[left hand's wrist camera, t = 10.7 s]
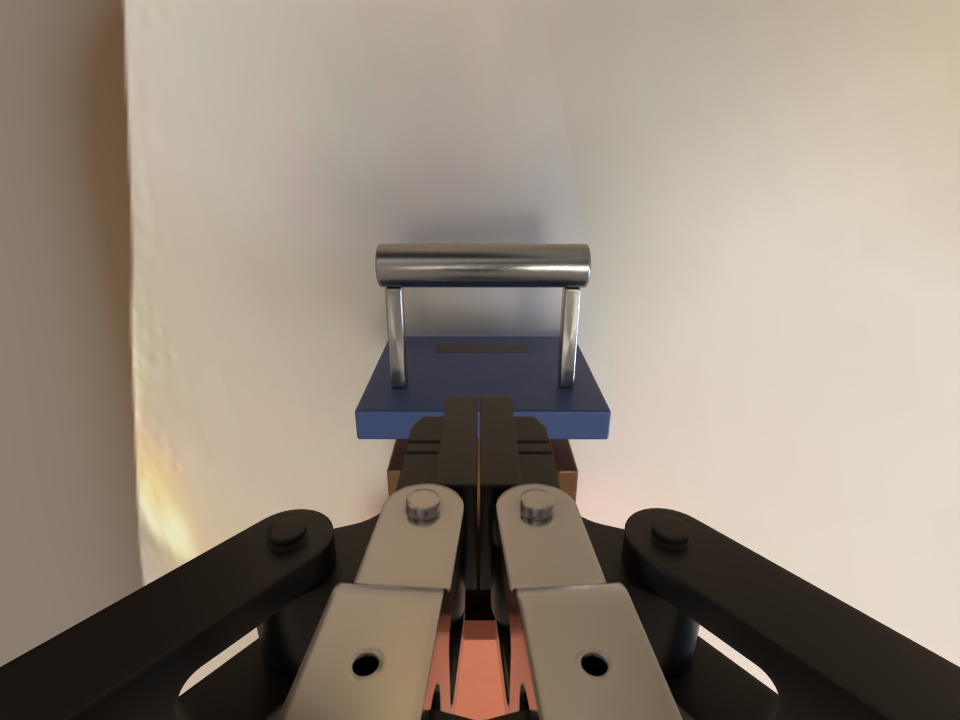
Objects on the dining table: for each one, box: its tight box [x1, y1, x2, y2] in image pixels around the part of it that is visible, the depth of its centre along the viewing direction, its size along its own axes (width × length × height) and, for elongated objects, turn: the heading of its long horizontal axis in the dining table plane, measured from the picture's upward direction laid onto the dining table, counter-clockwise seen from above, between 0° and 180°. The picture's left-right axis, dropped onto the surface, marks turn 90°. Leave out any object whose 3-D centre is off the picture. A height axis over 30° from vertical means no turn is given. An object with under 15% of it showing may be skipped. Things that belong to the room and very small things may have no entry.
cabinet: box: [455, 620, 505, 720], centre depth 30 cm, size 19×10×10 cm, turn 0°
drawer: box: [355, 244, 611, 620], centre depth 25 cm, size 23×9×8 cm, turn 0°
